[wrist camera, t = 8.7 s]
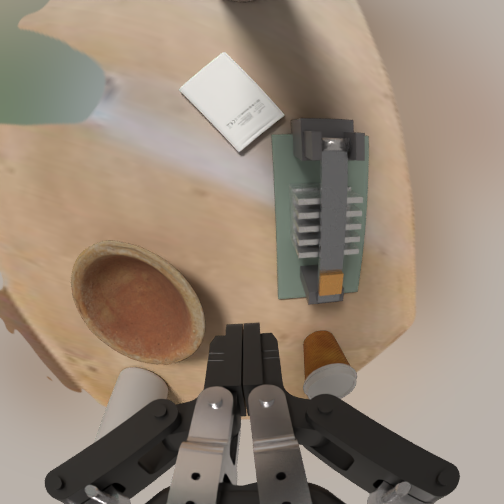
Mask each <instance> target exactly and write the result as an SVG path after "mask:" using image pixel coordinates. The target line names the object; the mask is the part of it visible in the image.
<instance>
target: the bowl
mask: <svg viewBox="0 0 504 504" xmlns="http://www.w3.org/2000/svg"><path fill="white" fill-rule="evenodd" d="M71 287H72V295H73V299H74V302H75V305H76V307H77V309H78V311H79V313H80V315H81V317H82V319H83V320H84V322H85V323H86V324H87V326H88V328H89V329H90V330H91V332H92V333H94V334H95V335H96V336H97V337H98V338H99V339H100V340H101V341H103V342H104V343H105V344H107V345H108V346H109V347H111V348H112V349H114V350H115V351H117V352H119V353H121V354H122V355H125V356H127V357H129V358H131V359H134V360H137V361H140V362H145V363H150V364H164V365H169V364H172V363H176V362H179V361H182V360H184V359H186V358H188V357H189V356H191V355H192V354H193V353H194V352H195V351H196V350H197V349H198V348H199V346H200V345H201V342H202V340H203V337H204V334H205V316H204V311H203V308H202V305H201V303H200V300H199V298H198V296H197V294H196V293H195V291H194V289H193V288H192V286H191V285H190V284H189V282H188V281H187V280H186V279H185V277H184V276H183V275H182V274H181V273H180V272H179V271H178V270H177V269H176V268H174V267H173V266H172V265H171V264H170V263H168V262H167V261H166V260H164V259H163V258H161V257H160V256H158V255H156V254H155V253H153V252H151V251H149V250H146V249H144V248H142V247H139V246H136V245H133V244H129V243H124V242H118V241H113V240H108V241H102V242H99V243H96V244H93V245H92V246H90V247H88V248H87V249H85V250H84V251H83V252H82V253H81V254H80V255H79V256H78V258H77V260H76V262H75V264H74V267H73V270H72V276H71Z"/></svg>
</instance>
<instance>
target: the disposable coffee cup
mask: <svg viewBox="0 0 504 504" xmlns="http://www.w3.org/2000/svg"><path fill="white" fill-rule="evenodd" d="M303 346H304V367H305V382H304V386H303V390H304V393H305V394H306V395H307V396H308V397H309V399H310V400H311V399H312V398H313V397H315V396H317V395H319V394H331V395H334V396H336V397H338V398H340V399H341V398H343V397H345V396H346V395H348V394H349V393H350V392H351V391H352V390H353V389H354V388H355V386H356V379H357V373H356V371H355V370H354V369H353V368H352V367H351V366H350V365H349V363H348V361H347V359H346V357H345V356H344V354H343V352H342V350H341V348H340V347H339V345H338V343H337V341H336V340H335V338H334V336H333V335H332V333H330V332H328V331H317V332H314V333H312V334H310V335H309V336H308V337H307V338H306V339H305V341H304V344H303Z"/></svg>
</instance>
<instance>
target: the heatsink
mask: <svg viewBox="0 0 504 504" xmlns="http://www.w3.org/2000/svg"><path fill="white" fill-rule="evenodd" d="M353 203H363V197H362V196H360V195H359V194H357V193H356V192H354V191H353V190H351V187H350V186H348V185H347V213H346V231H345V246H344V255H350V254H359V248H358V247H357V246H356V245H355V243H354V242H360V236H359V235H358V234H357V233H356V231H355V230H354V229H361V223H360V222H359V221H358V220H357V219H356V218H355V217H353V216H362V210H361V209H359V208H358V207H357V206H356V205H354V204H353ZM289 204H290V238H291V241H292V243H293V246H294V247H295V250H296V252H297V255H298V258H310V257H319V240H320V183H303V184H289Z"/></svg>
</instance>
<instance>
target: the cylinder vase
mask: <svg viewBox="0 0 504 504" xmlns="http://www.w3.org/2000/svg"><path fill="white" fill-rule="evenodd" d="M167 395H168V387H167V385H166V383H165V382H164V381H163V379H161V378H160V377H159V376H158V375H156V374H155V373H153V372H151V371H148V370H146V369H142V368H137V367H130V368H126V369H124V370H122V371H121V372H120V374H119V377H118V379H117V382H116V384H115V387H114V389H113V392H112V395H111V397H110V400H109V402H108V405H107V408H106V410H105V413H104V416H103V419H102V421H101V424H100V427H99V430H98V433H97V436H96V439H95V442H96V441H98V440H99V439H100V438H102V437H103V436H105V435H106V434H108V433H109V432H110V431H112V430H113V429H115V428H116V427H117V426H119V425H120V424H122V423H123V422H124V421H126V420H127V419H128V418H130V417H131V416H133V415H134V414H135V413H137V412H138V411H139V410H141V409H142V408H143V407H145V406H146V405H147V404H149V403H150V402H152V401H154V400H157V399H167ZM95 442H94V443H95Z"/></svg>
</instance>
